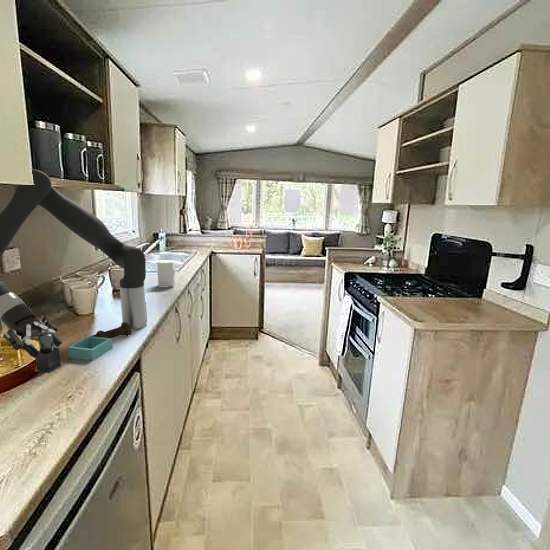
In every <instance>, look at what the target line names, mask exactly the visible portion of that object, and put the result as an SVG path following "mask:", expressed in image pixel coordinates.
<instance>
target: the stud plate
mask: <svg viewBox="0 0 550 550" xmlns="http://www.w3.org/2000/svg"><path fill="white" fill-rule="evenodd" d="M60 363H61V364H60V365H58V366H57V367H55V368H53V369H51V370H50V371H49V370H41V369H36V370H35V371H34V372H38V373H45V374H51V373H52V372H54V371H56V370H58V369H59V368H61V367H63V366H65V365H66V364H68V362H63V361H60Z"/></svg>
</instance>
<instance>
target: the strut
mask: <svg viewBox="0 0 550 550" xmlns="http://www.w3.org/2000/svg"><path fill="white" fill-rule="evenodd" d="M37 337H38V347H39V350H38V351H39V352H40V354H39V355H38V356H37V357H36V358H35V365H36V367H37V369H41V370H49V371H50V370H51V369H53V368H55V367H57V366H58V365H60V364H61V363H60V362H61V356H60V348H59V347H54V346H55V345H54V343H53V337H52V333H48V332H46V333H43V334H40V335H38V336H37Z"/></svg>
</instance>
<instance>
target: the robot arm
mask: <svg viewBox="0 0 550 550" xmlns="http://www.w3.org/2000/svg"><path fill="white" fill-rule="evenodd" d="M31 169H32V174H33V179H34V184H35V185H13V184H12V186H13V188H14V191H15V192H14V194H13V196H12V198H11V199H10V201H9V203H7V205H6V206H5V208H3V210H2V211H1V212H0V263H1V262H2V259H3V254H4V253H6V250H7V249H8V248H9V246H10V245H11V242H12V241H13V239H14V238H15V236H16V235H17V233H18V232H19V230H20V228H21V227H22V226H23V224H24V223H25V221H26V220H27V218H28V217H30V215H31V213H33V211H34V210H35V209H36V208H37V207H38V206H40V207H42V208H43V209H44V210H46V211H47V212H48V213H50V214H51V215H52V216H53V217H54V218H56V219H57V220H58V221H59V222H60V223H61V224H63V225H64V226H65V227H66V228H68V230H70V231H71V232H73V233H74V234H75V235H77V236H78V237H79V238H81V239H82V240H84V241H85V242H86V243H88V244H89V245H91V246H93V247H95V248H96V249H97V250H100V251H101V252H102V253H104V254H105V255H106V256H107V257H108V258H109V259H111V261H112V262H114V264H116V265H117V266H118V267H119V268H121V269H123V277H122V278H120V280H119V293H120V305H121V321H122V322H121V323H123V322H127V323H128V324H129V325H130V327H131V329H134V330H138V329H137V328H140V329H142V328H141V327H143V328H145V327H146V326H147V323H148V312H147V302H146V293H145V280H146V274H147V272H146V267H147V266H146V256H145V253H144V251H143V250H142V249H141V248H140V247H137V246H131V245H127V244H126V243H123V242H122V241H121V240H119V239H118V238H117V237H115V236H114V235H113V234H112V233H111V232H110V230H109V229H108V227H107V226H106V225H105V223H104V222H103V221H102V220H101V219H100V218H98V217H97V216H96V215H95V214H93V213H92V211H89V210H88V209H87V208H85V207H83V206H82V205H81V204H78V203H77V202H75V201H74V200H72V199H70V198H69V197H67V196H64V195H63V194H62V193H61V192H59V191H58V190H57V189H56V188H54V186H52V181H51V179H50V177H49V176H48V175H47V174H46V173H45V172H43V171H41V170H39V169H35V168H31ZM51 186H52V187H51ZM0 320H1V322H2V323H4V324H5V326H6V327H7V328H8V330H7V331H6V333H5V334H4V336H3V337H4V338H5V340H7V342H8V343H9V344H10V346H12V348H13V349H14V350H15V351H19V350H24V351H25V352H26V353H27V354H28V355H29V356H30V357H32V358H33V359H36V357H37V356H38V355H39V354H40V352H39V350H38V349H37V348H36V347H35V346H34V345H33V344H32V343H31V339H33V338H35V337H38V335H40V334H43V333H52V337H53V345H54V346H55V348H59V346H61V345H62V344H63V341H62V339H61V338H60V337H59V336H58V335H57V333H56V332H57V331H58V330H59V327H58V326H57V325H56V324H55V323H54V322H53V321H52V320H51V319H50V318H49V317H48V316H46V315H45V316H43V317H42V318H41V319H38V318H37V317H36V315H35V312H33V310H32V309H31V308H30V307H29V306H28V305H27V304H26V303H25V302H24V301H23V299H21V298H20V297H19V295H17V294H16V293H15V292H14V291H13V290H11V288H10V287H9V286H8V285H7V284H6V283H5V282H4V281H2V280H0ZM146 322H147V323H146ZM145 325H146V326H145ZM144 326H145V327H144ZM19 337H20V338H19Z"/></svg>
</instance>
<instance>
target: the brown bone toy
mask: <svg viewBox="0 0 550 550" xmlns="http://www.w3.org/2000/svg"><path fill="white" fill-rule="evenodd" d="M131 334H132V330H131V327H130V325H129V324H128V323H127V322H121V323H120V326H118V327H114V328H113V329H109V330H106V331H104V330H98V331H96V334H92V335H91V336H92V337H101V338H111V339H114V338H117V337H121V336H125V335H126V336H125V337H129V336H128V335H130V336H131Z"/></svg>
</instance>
